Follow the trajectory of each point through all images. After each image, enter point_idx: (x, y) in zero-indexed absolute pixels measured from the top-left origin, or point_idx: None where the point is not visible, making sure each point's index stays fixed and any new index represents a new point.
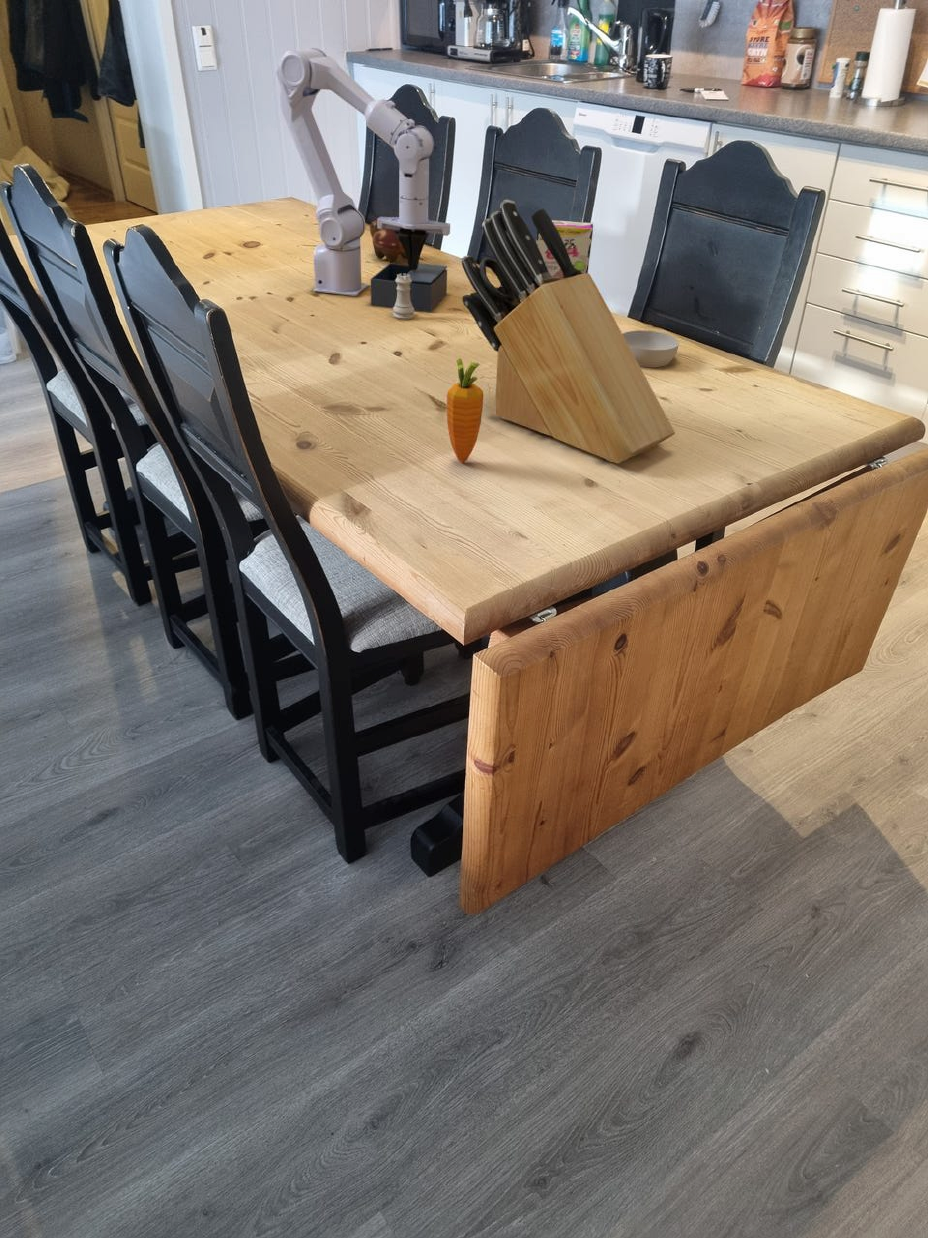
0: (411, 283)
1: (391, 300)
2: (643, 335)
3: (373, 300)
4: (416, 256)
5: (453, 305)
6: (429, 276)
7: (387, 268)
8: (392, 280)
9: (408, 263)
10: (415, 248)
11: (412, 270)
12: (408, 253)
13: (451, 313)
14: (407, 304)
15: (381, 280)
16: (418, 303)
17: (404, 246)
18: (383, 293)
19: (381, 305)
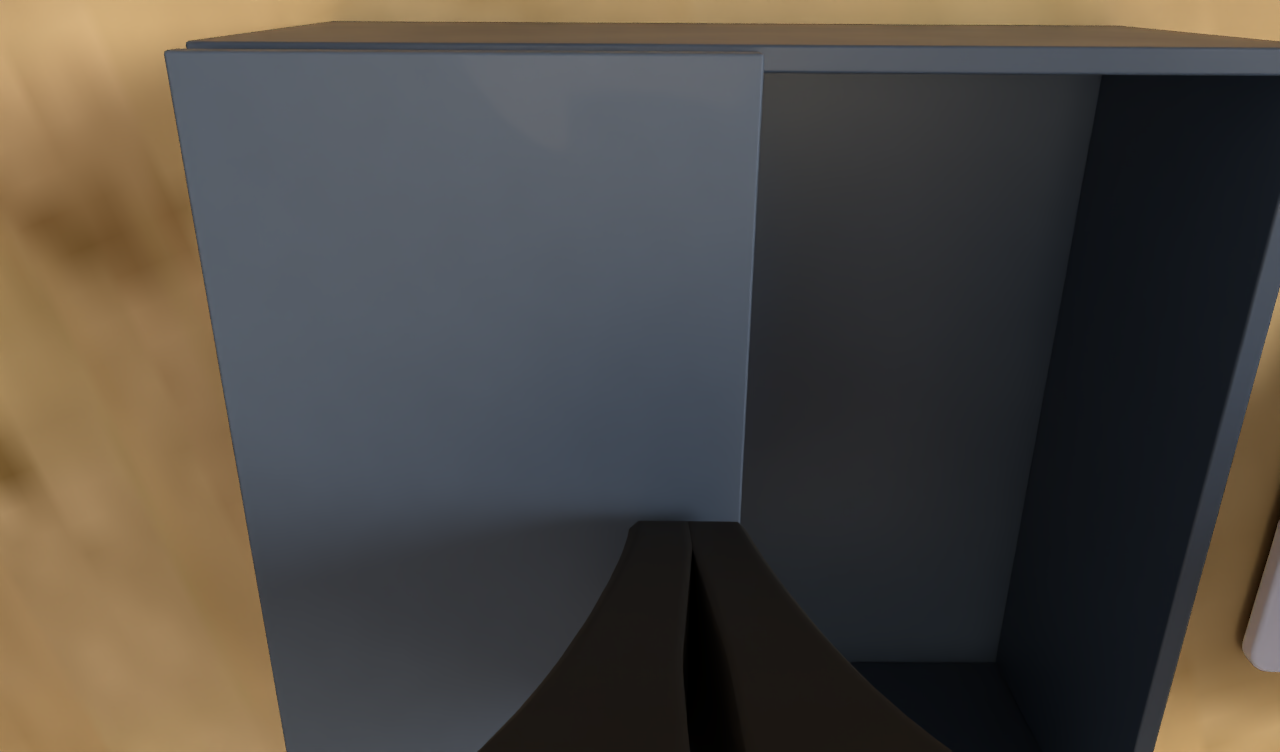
0: (558, 45)
1: (867, 28)
2: None
3: (1117, 28)
4: (579, 632)
5: (199, 376)
6: (331, 375)
7: (1115, 741)
8: (1001, 716)
9: (753, 557)
10: (580, 731)
11: None
12: (771, 661)
13: (86, 77)
14: None
15: (1129, 45)
16: (477, 26)
17: (902, 750)
18: (1012, 34)
19: (986, 26)
